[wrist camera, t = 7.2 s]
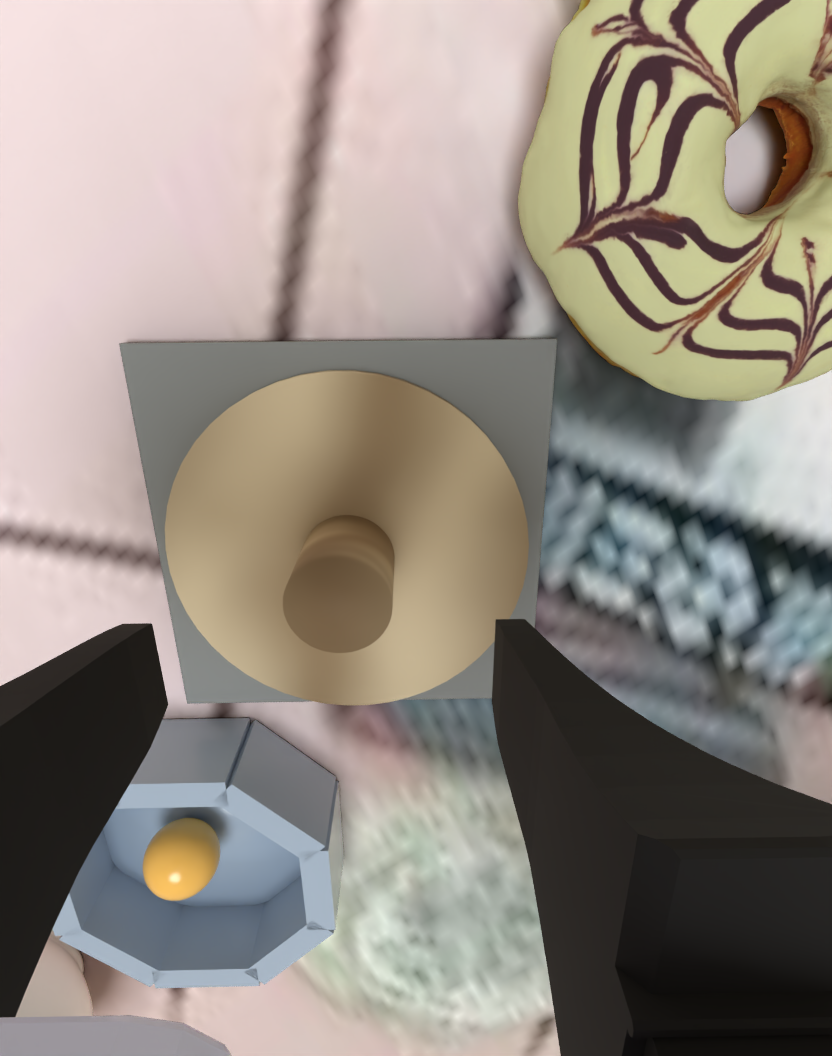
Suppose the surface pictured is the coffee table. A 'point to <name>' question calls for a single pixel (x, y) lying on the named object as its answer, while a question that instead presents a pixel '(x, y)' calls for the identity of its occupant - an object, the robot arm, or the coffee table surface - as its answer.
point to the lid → (346, 537)
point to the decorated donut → (687, 192)
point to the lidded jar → (57, 984)
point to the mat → (244, 367)
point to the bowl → (212, 861)
